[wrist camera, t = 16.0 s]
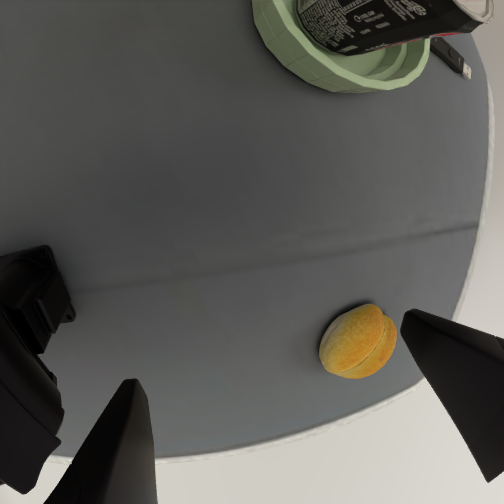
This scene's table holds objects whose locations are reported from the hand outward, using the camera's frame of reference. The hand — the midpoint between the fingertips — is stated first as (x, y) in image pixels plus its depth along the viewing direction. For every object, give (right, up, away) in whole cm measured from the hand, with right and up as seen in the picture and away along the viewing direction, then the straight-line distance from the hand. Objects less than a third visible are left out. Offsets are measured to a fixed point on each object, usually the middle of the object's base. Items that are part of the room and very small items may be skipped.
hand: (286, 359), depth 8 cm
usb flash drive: (+18, +23, +10) cm, 30 cm away
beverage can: (+5, +20, +7) cm, 22 cm away
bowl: (+5, +20, +7) cm, 22 cm away
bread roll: (+10, -5, +20) cm, 23 cm away
